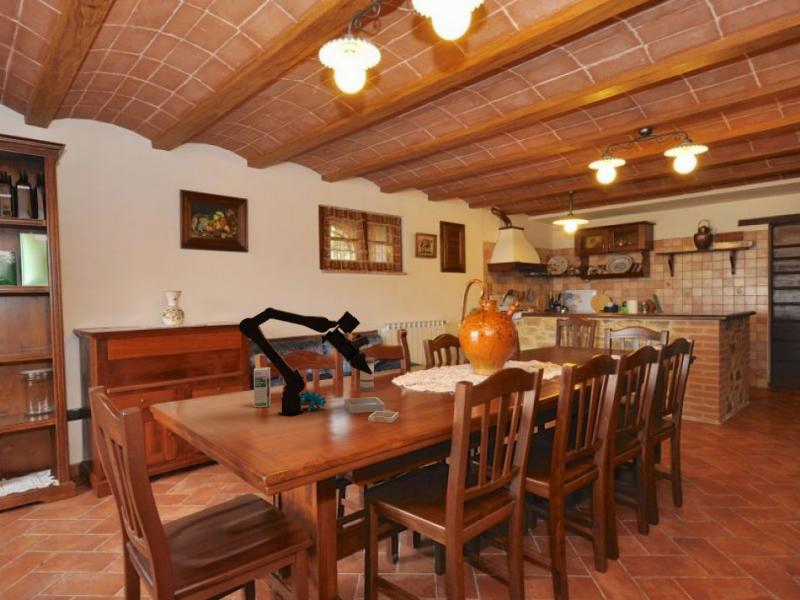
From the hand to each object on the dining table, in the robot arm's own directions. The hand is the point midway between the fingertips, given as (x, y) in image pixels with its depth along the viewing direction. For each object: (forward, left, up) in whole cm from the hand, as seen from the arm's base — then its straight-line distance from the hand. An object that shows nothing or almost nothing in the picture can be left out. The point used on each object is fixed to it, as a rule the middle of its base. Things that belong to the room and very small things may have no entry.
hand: (370, 372), depth 173 cm
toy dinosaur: (-11, +19, -14) cm, 26 cm away
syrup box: (-15, +39, -14) cm, 44 cm away
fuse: (-1, +1, -7) cm, 7 cm away
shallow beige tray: (-10, -12, -13) cm, 20 cm away
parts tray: (0, +3, -13) cm, 14 cm away
